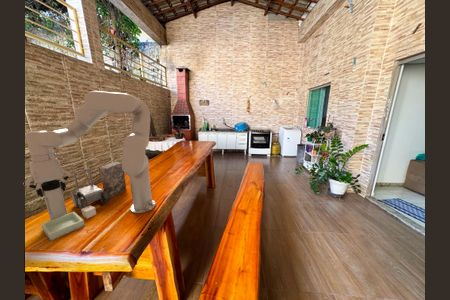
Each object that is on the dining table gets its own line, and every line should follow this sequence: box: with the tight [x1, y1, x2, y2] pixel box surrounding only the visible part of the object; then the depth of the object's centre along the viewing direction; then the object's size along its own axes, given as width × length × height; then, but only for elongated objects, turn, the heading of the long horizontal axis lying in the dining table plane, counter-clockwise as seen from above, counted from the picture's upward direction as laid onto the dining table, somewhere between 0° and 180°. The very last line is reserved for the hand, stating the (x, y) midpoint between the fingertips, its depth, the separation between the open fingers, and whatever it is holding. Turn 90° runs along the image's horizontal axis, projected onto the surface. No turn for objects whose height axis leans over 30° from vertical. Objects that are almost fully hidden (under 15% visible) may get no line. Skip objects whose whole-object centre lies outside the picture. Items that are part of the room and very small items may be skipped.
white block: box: [80, 205, 97, 219], centre depth 88 cm, size 5×4×4 cm
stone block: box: [98, 161, 127, 199], centre depth 109 cm, size 13×7×20 cm, turn 171°
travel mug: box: [40, 179, 68, 221], centre depth 83 cm, size 6×7×20 cm
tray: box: [40, 211, 86, 242], centre depth 78 cm, size 13×12×3 cm
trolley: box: [71, 168, 110, 211], centre depth 96 cm, size 17×12×20 cm
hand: (52, 192), depth 82 cm, fingers open, 7 cm apart
